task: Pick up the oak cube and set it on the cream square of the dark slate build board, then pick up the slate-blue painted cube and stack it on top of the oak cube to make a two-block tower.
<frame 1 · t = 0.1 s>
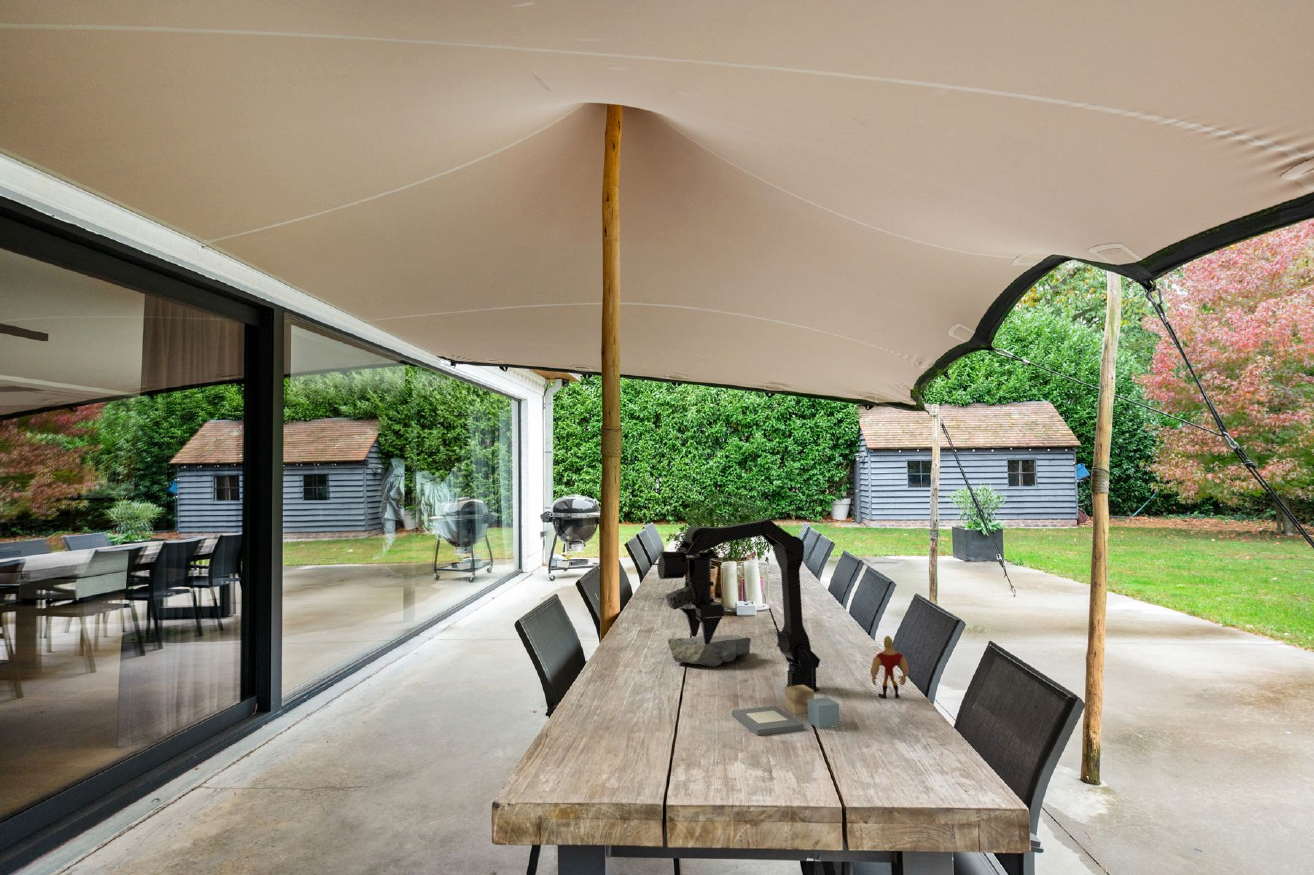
hand: (700, 640, 183), 15 cm above the table, tool pointing down, fingers open, 9 cm apart
stone: (709, 660, 224), on the table
action figure: (889, 698, 183), on the table
blue block: (823, 724, 164), on the table
oak block: (799, 710, 174), on the table
build board: (766, 722, 165), on the table
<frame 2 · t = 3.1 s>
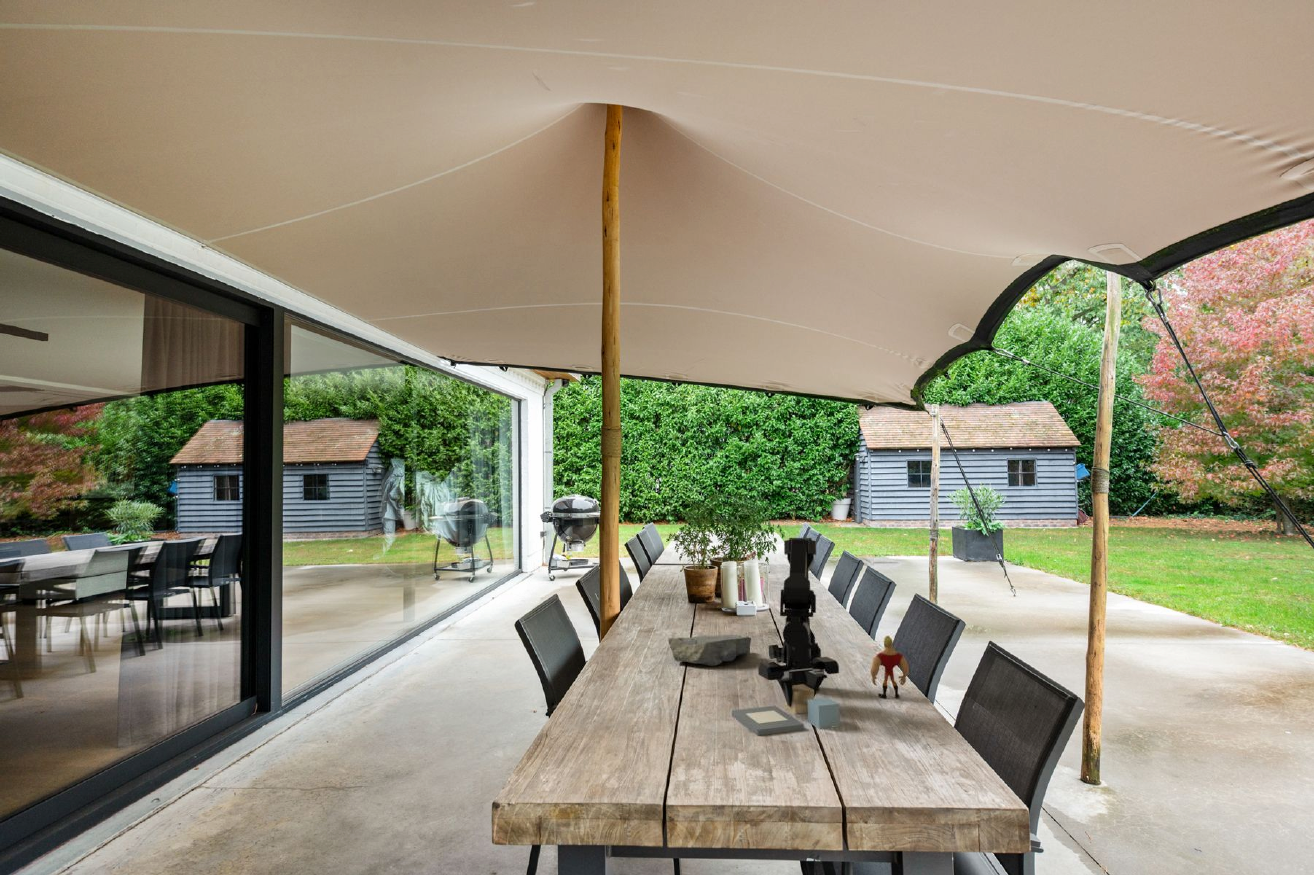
hand: (799, 705, 174), 1 cm above the table, tool pointing down, fingers closed on oak block, 5 cm apart
oak block: (799, 709, 174), on the table, touching gripper
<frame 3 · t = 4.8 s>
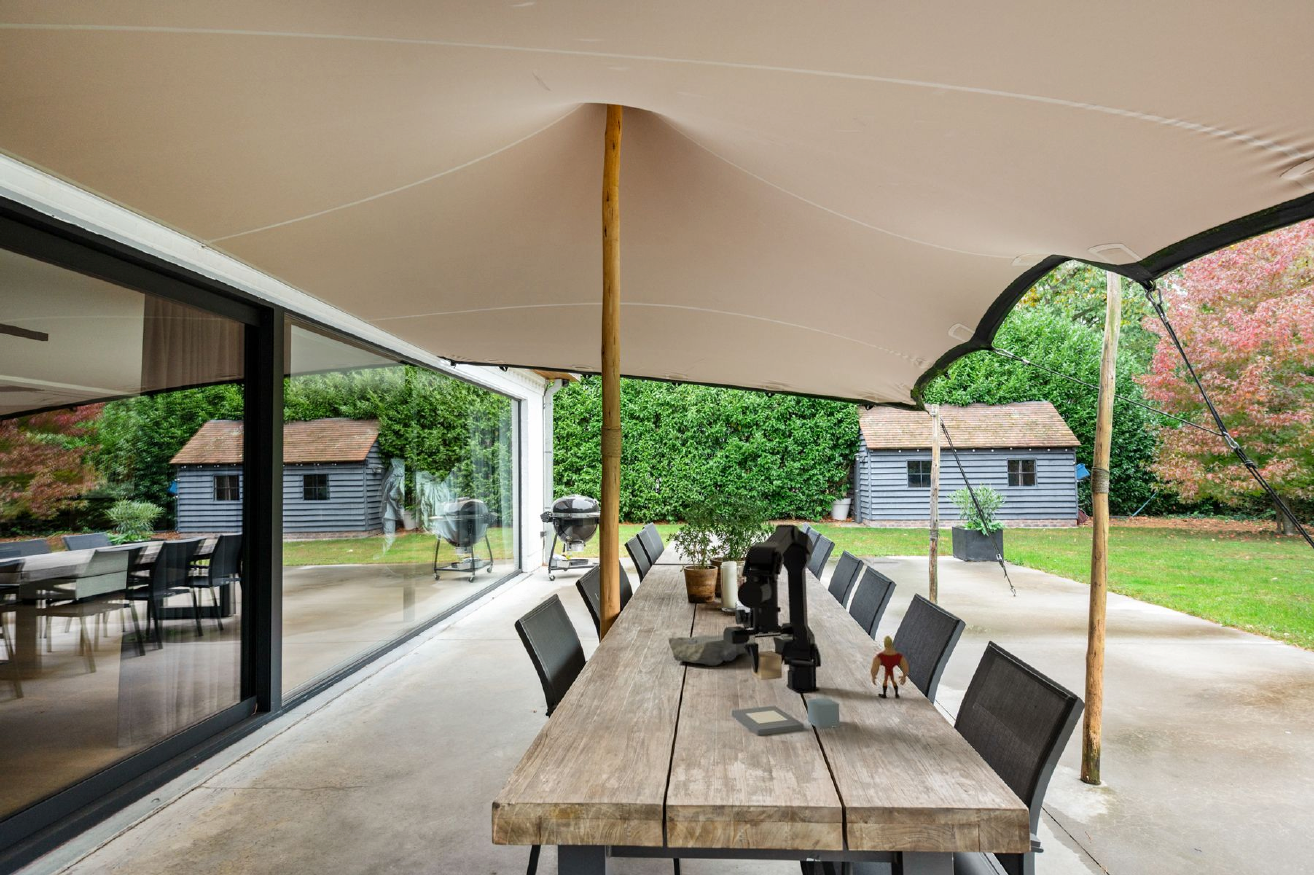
hand: (766, 671, 166), 11 cm above the table, tool pointing down, fingers closed on oak block, 5 cm apart
oak block: (766, 676, 166), point 10 cm above the table, touching gripper
when the fingers open (4 cm above the table, at t = 6.5 s): oak block drops 1 cm, resting on build board.
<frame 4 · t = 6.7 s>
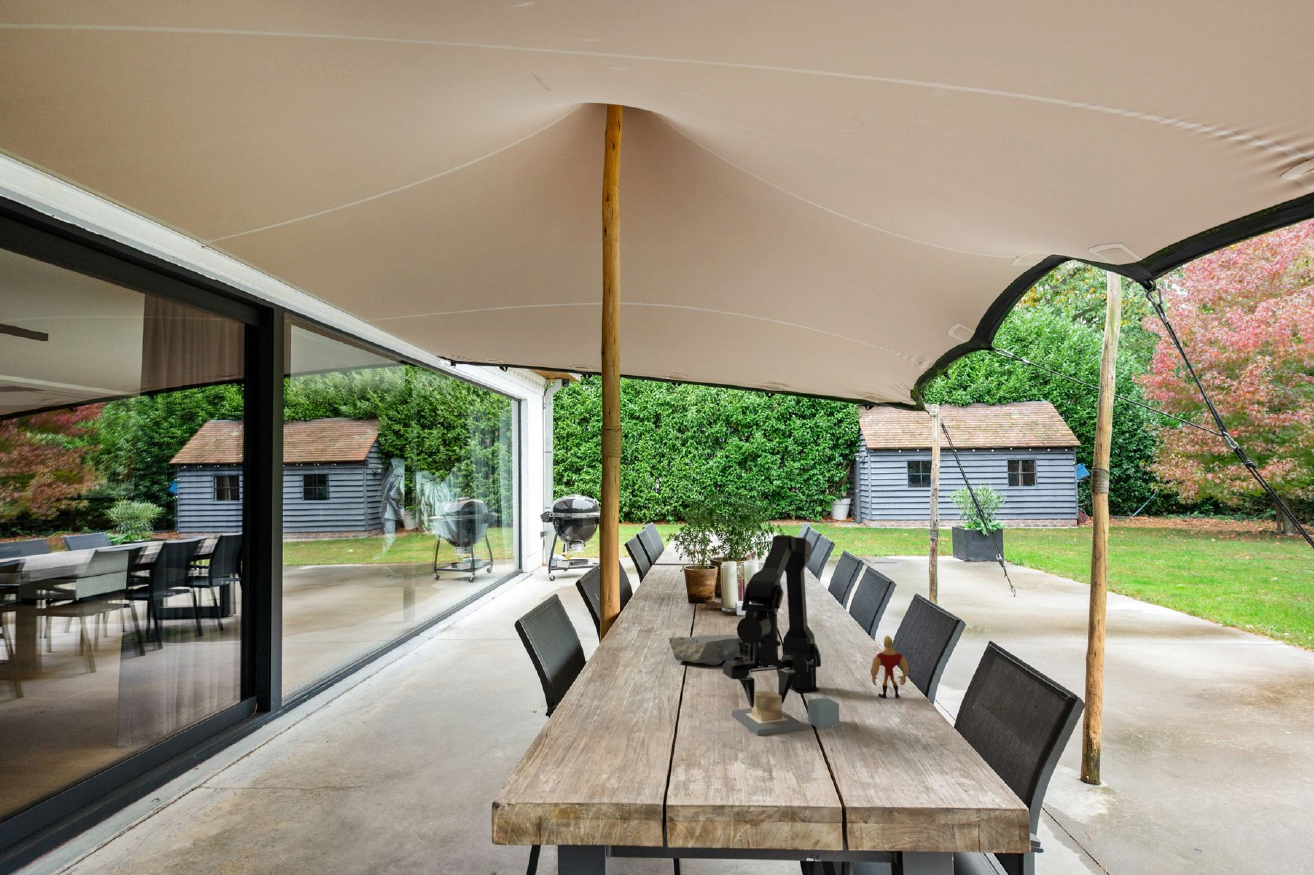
hand: (766, 705, 165), 4 cm above the table, tool pointing down, fingers open, 7 cm apart
oak block: (766, 716, 165), point 1 cm above the table, touching build board
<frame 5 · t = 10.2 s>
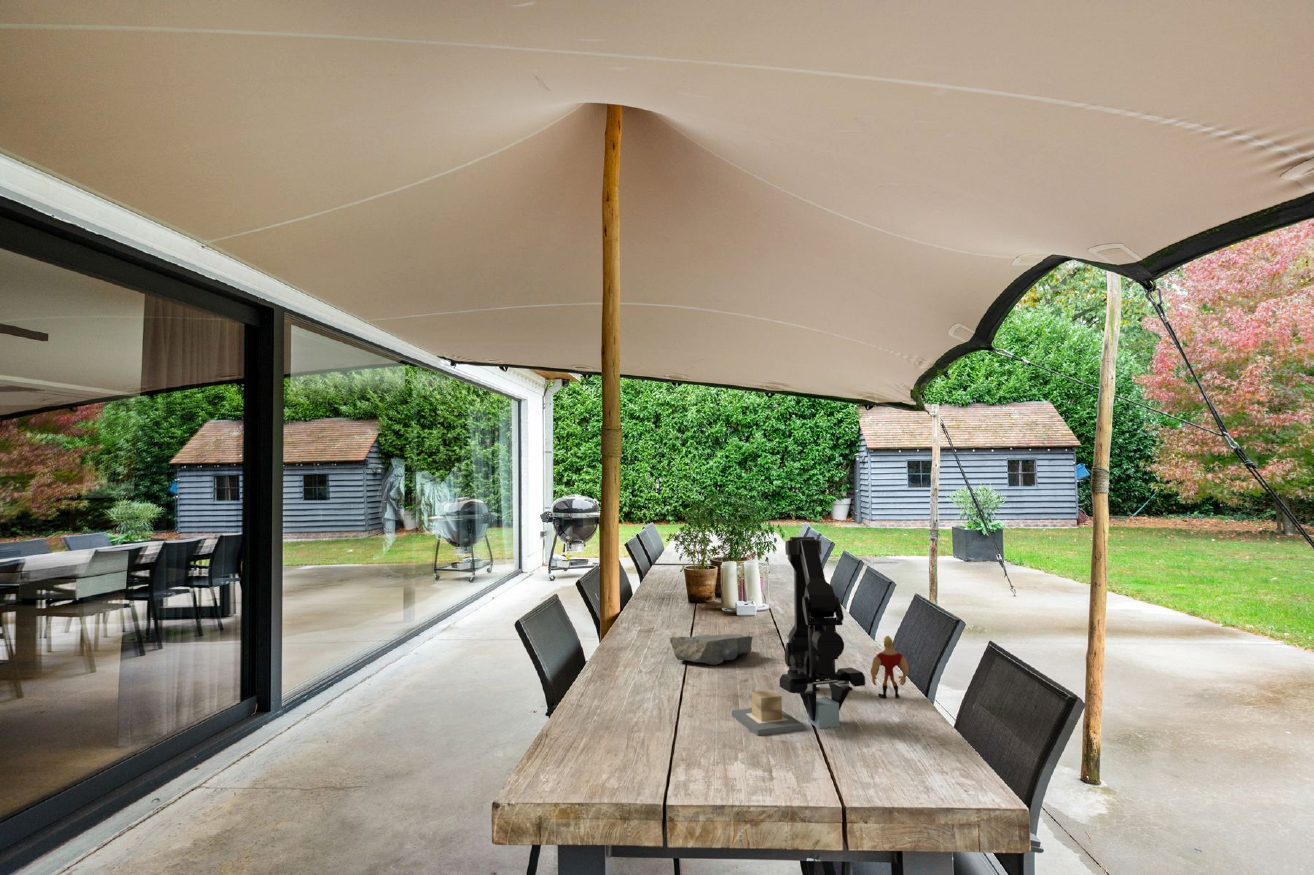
hand: (823, 719, 164), 1 cm above the table, tool pointing down, fingers closed on blue block, 5 cm apart
blue block: (823, 724, 164), on the table, touching gripper
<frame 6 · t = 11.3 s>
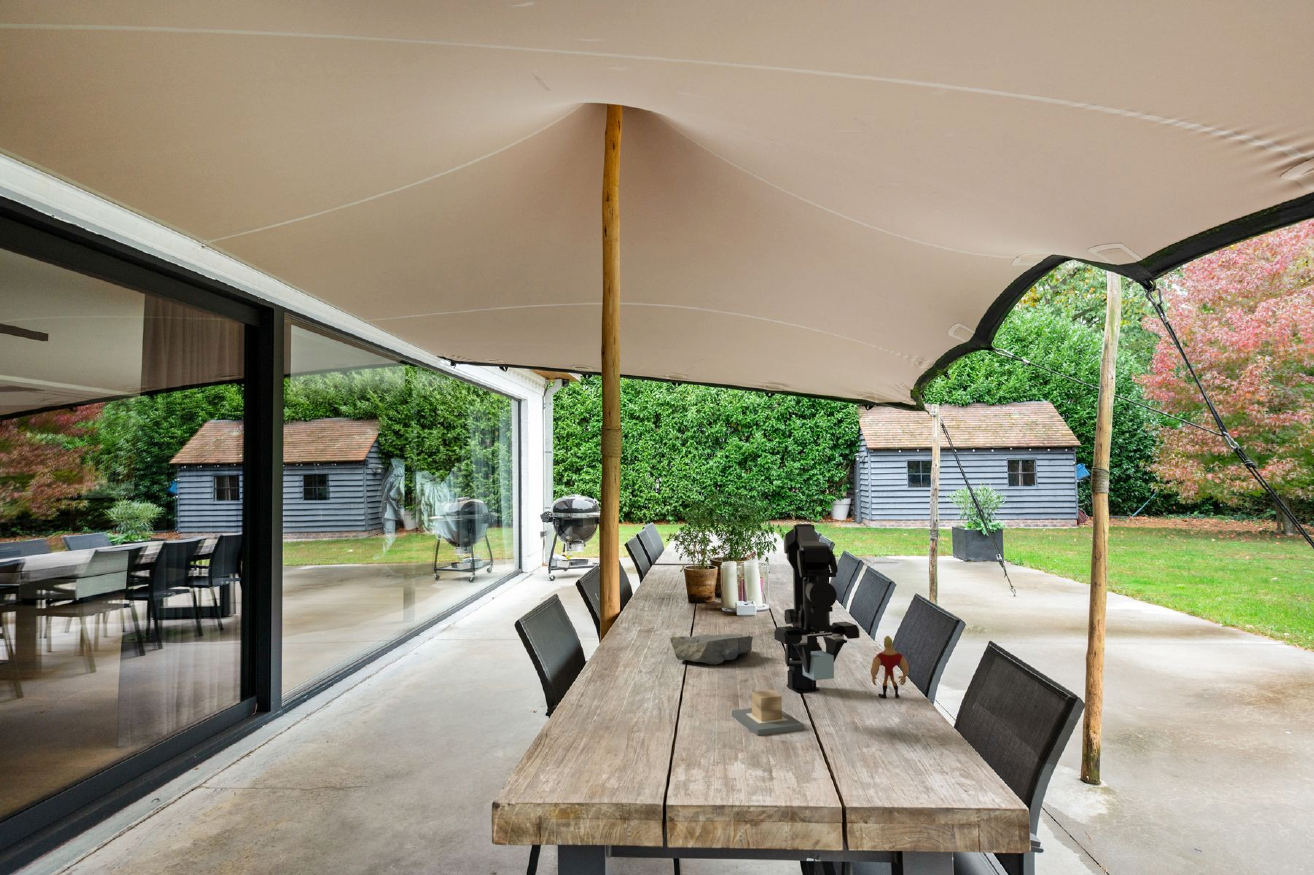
hand: (818, 671, 164), 11 cm above the table, tool pointing down, fingers closed on blue block, 5 cm apart
blue block: (818, 676, 164), point 10 cm above the table, touching gripper
when the fingers open (9 cm above the table, at t = 12.9 s): blue block drops 1 cm, resting on oak block.
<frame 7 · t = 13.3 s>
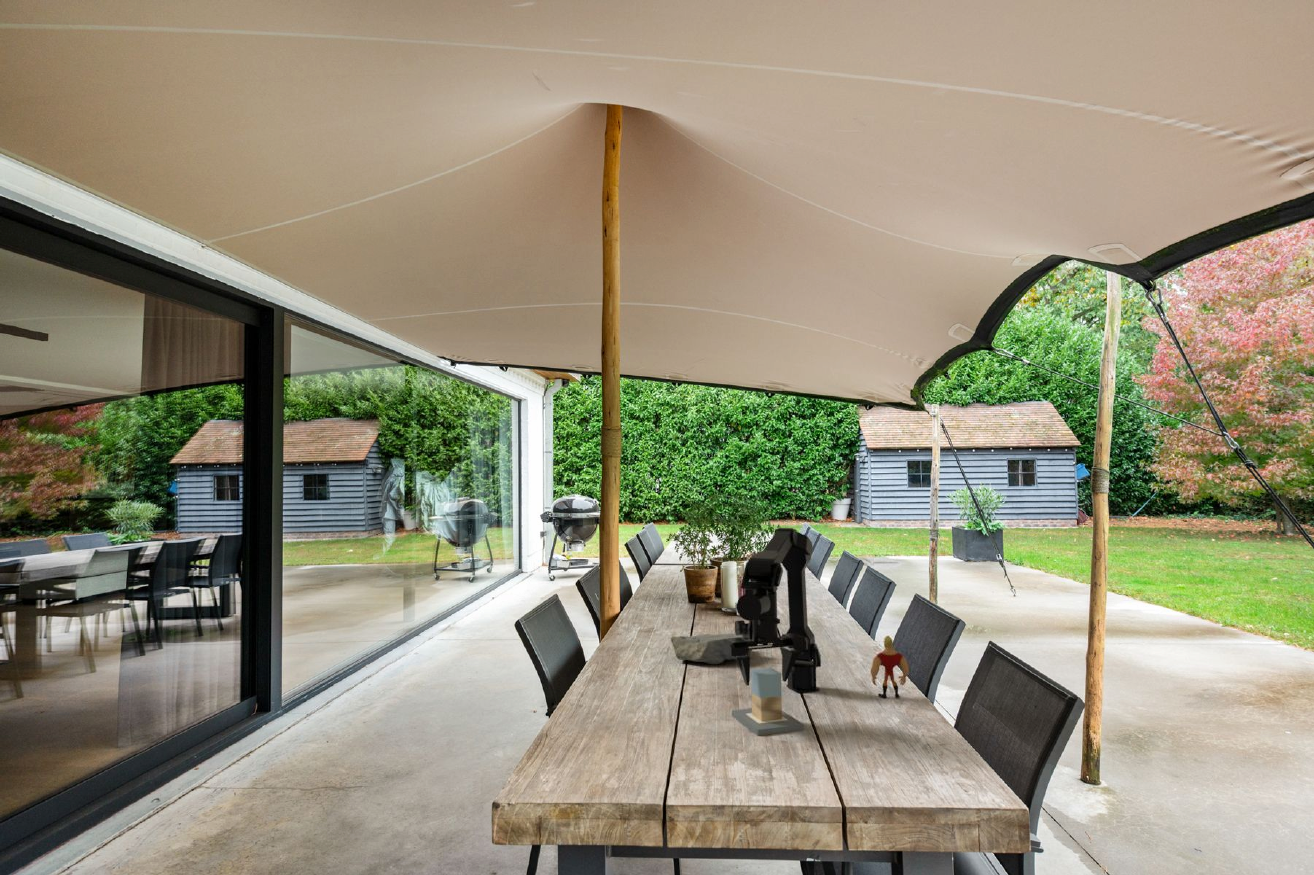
hand: (765, 683, 166), 9 cm above the table, tool pointing down, fingers open, 9 cm apart
blue block: (766, 694, 165), point 6 cm above the table, touching oak block
oak block: (766, 716, 165), point 1 cm above the table, touching blue block, build board
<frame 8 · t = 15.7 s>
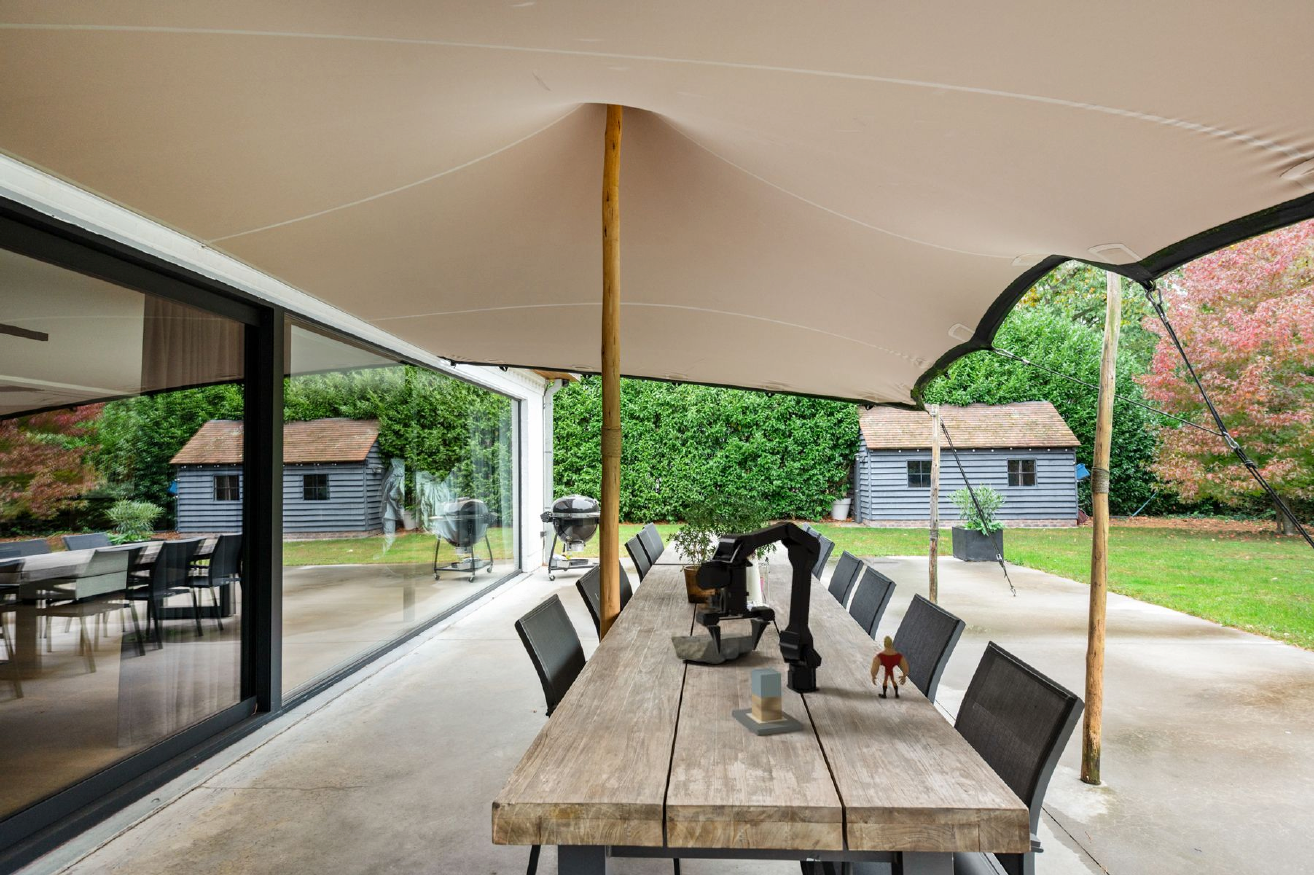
hand: (736, 651, 178), 13 cm above the table, tool pointing down, fingers open, 9 cm apart
at the end: oak block inside the target area on the build board (0.1 cm from its centre), point 1.3 cm above the build board's base; blue block 0.0 cm off-centre on the oak block, point 5.0 cm above the oak block's base; blue block tilted 0° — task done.
